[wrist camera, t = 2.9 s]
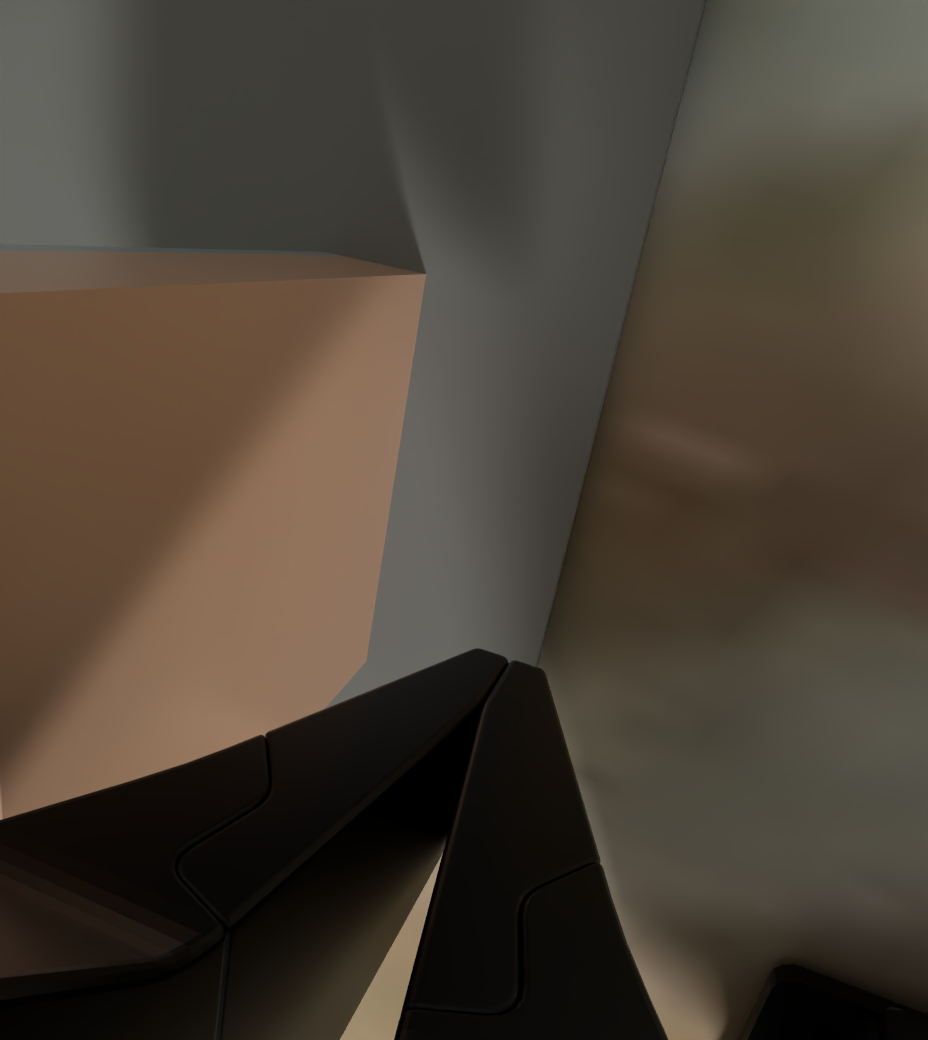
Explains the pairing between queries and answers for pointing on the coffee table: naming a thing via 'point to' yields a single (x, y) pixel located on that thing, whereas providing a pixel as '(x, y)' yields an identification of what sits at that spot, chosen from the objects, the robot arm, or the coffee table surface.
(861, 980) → the coffee table surface
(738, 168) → the coffee table surface
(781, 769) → the coffee table surface
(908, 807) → the coffee table surface
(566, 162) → the mat
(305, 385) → the tile
